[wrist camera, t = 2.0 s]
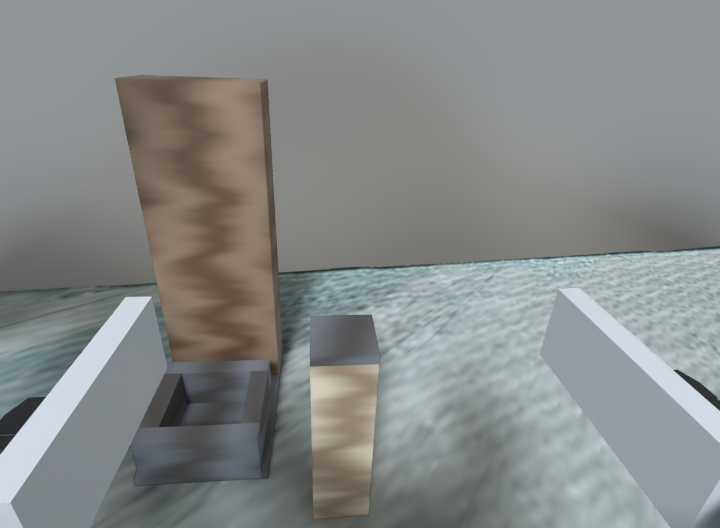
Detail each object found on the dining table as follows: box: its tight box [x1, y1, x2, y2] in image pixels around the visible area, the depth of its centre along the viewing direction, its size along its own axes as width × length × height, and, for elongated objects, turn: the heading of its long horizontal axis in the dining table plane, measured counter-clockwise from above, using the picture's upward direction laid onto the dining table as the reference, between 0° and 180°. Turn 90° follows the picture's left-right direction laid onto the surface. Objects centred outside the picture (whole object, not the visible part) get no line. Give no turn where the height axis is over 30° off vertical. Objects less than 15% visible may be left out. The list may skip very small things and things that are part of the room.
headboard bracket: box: [115, 75, 283, 486], centre depth 34 cm, size 10×17×28 cm, turn 5°
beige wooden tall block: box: [310, 315, 380, 519], centre depth 29 cm, size 4×4×15 cm
